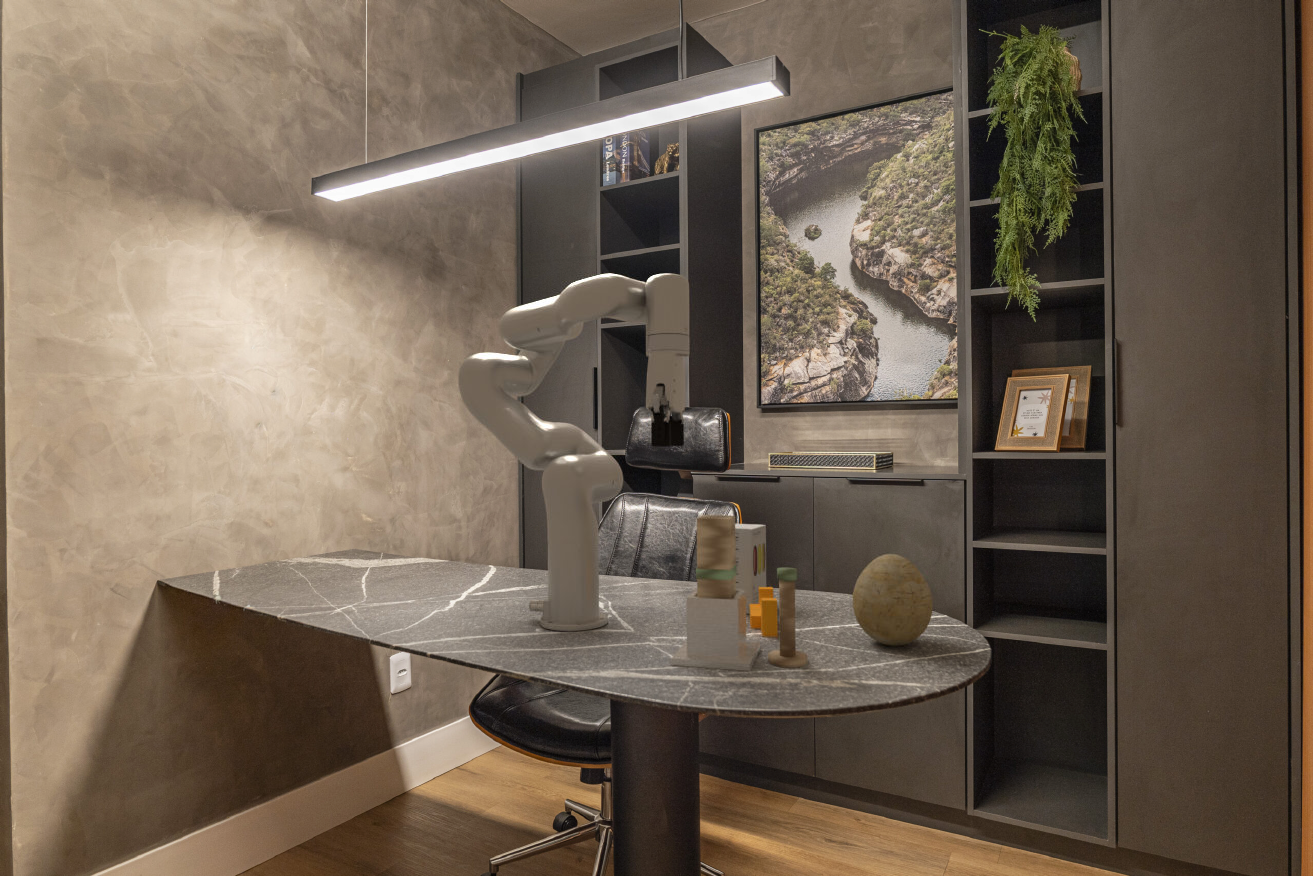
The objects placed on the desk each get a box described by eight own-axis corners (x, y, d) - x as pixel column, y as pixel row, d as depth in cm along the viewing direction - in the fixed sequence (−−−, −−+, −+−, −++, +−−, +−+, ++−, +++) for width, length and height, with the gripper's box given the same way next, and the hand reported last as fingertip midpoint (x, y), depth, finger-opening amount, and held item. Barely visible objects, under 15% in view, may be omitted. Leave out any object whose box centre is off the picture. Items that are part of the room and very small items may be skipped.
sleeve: (671, 665, 114) (670, 599, 114) (688, 644, 126) (687, 584, 126) (750, 671, 111) (749, 603, 111) (760, 649, 123) (759, 587, 123)
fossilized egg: (872, 630, 134) (872, 546, 134) (944, 642, 126) (943, 553, 126) (839, 645, 124) (838, 555, 124) (914, 660, 116) (914, 562, 116)
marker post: (765, 666, 113) (765, 571, 113) (770, 655, 119) (769, 565, 119) (806, 668, 112) (805, 573, 112) (808, 657, 118) (808, 566, 118)
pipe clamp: (749, 620, 143) (749, 586, 143) (772, 621, 142) (772, 587, 142) (752, 637, 131) (751, 600, 131) (777, 637, 130) (777, 600, 130)
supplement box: (752, 615, 146) (752, 529, 146) (708, 611, 150) (708, 527, 150) (767, 605, 155) (766, 524, 155) (725, 601, 159) (724, 522, 159)
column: (696, 615, 116) (695, 518, 116) (703, 607, 122) (702, 514, 122) (731, 617, 115) (730, 519, 115) (736, 609, 120) (736, 515, 120)
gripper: (659, 353, 139) (660, 445, 139) (632, 341, 122) (632, 446, 122) (699, 352, 137) (699, 445, 137) (677, 340, 120) (677, 446, 120)
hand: (668, 446), depth 130 cm, fingers open, 9 cm apart
